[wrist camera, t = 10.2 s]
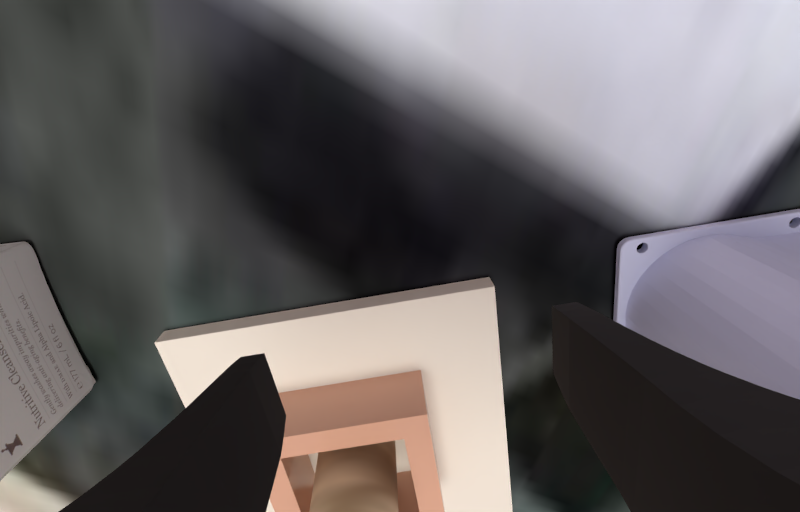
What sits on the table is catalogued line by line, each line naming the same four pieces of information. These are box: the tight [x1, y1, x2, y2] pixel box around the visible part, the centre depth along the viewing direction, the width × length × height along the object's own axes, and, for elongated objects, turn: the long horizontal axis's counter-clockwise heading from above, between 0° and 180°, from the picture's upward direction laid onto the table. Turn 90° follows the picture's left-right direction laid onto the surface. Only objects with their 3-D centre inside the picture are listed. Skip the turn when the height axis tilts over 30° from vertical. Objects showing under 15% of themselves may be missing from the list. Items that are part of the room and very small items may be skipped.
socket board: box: [155, 277, 513, 512], centre depth 22 cm, size 16×16×4 cm
